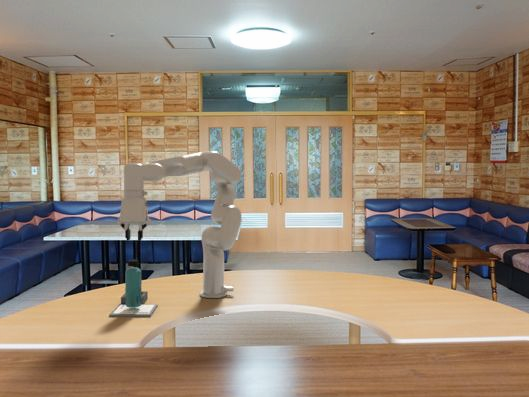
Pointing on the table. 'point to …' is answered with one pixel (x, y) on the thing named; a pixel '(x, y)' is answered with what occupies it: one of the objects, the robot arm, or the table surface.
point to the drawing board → (133, 311)
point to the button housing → (144, 295)
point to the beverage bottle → (133, 285)
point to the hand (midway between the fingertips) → (134, 239)
